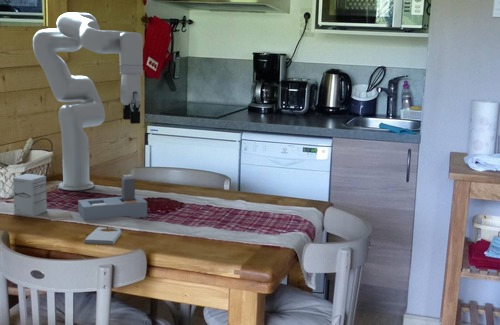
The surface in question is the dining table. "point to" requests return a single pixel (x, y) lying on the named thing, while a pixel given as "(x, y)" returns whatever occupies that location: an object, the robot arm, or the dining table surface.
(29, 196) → the supplement box
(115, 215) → the socket block
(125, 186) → the plug
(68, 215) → the grey flat plate
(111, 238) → the external hard drive
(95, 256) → the dining table surface
